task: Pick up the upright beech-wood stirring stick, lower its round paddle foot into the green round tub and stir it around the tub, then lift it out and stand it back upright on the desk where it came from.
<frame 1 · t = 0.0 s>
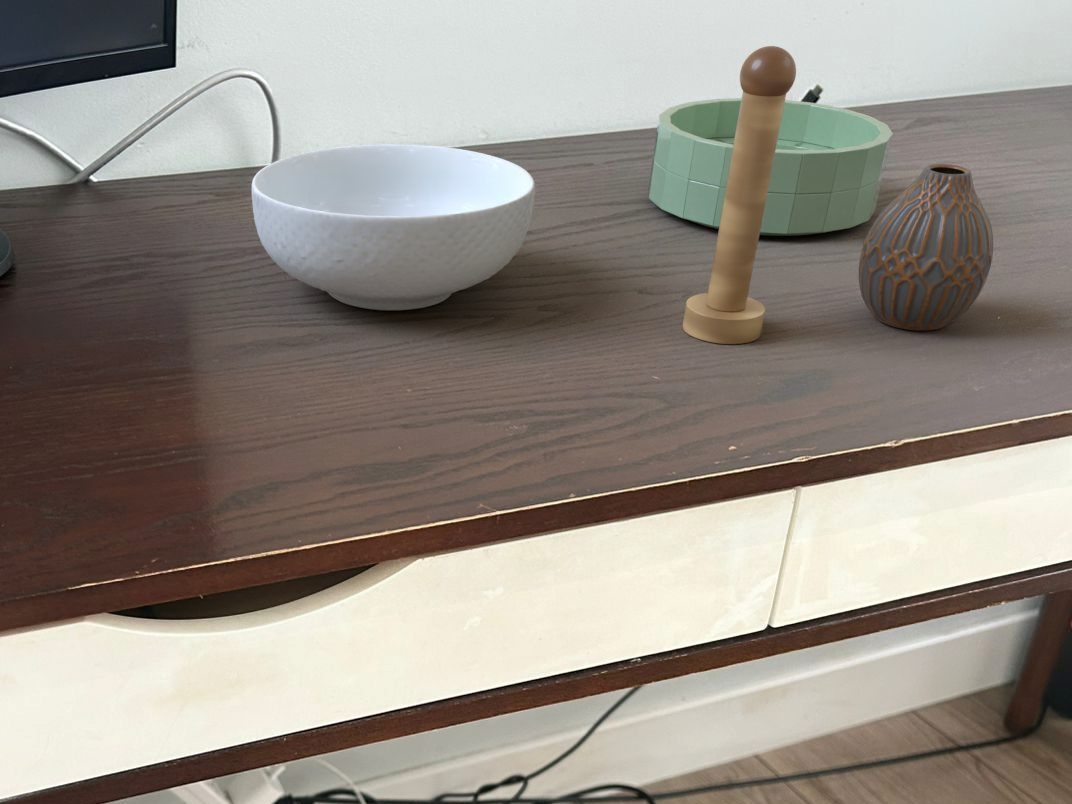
cereal bowl: (387, 291, 86), on the table
green round tub: (757, 208, 99), on the table
vase: (908, 322, 81), on the table
stirring stick: (721, 330, 80), on the table
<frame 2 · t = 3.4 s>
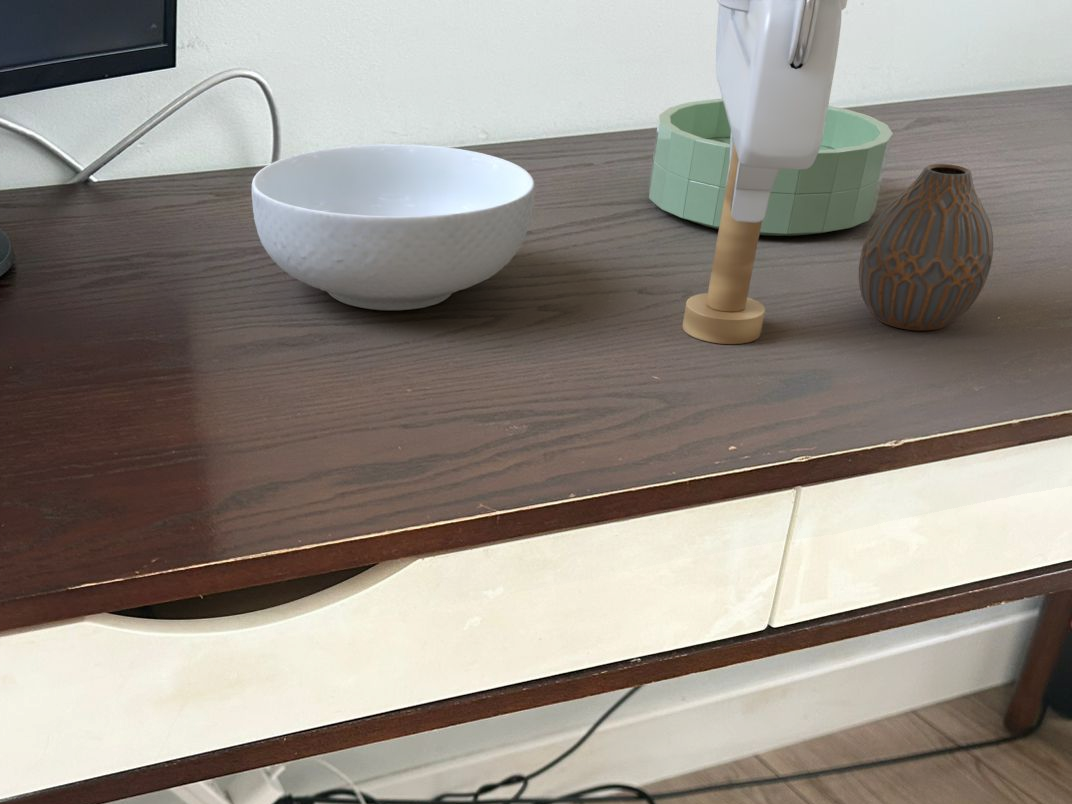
hand: (743, 208, 76), 7 cm above the table, tool pointing down, fingers closed on stirring stick, 2 cm apart
stirring stick: (721, 330, 80), on the table, touching gripper
everything else where it was.
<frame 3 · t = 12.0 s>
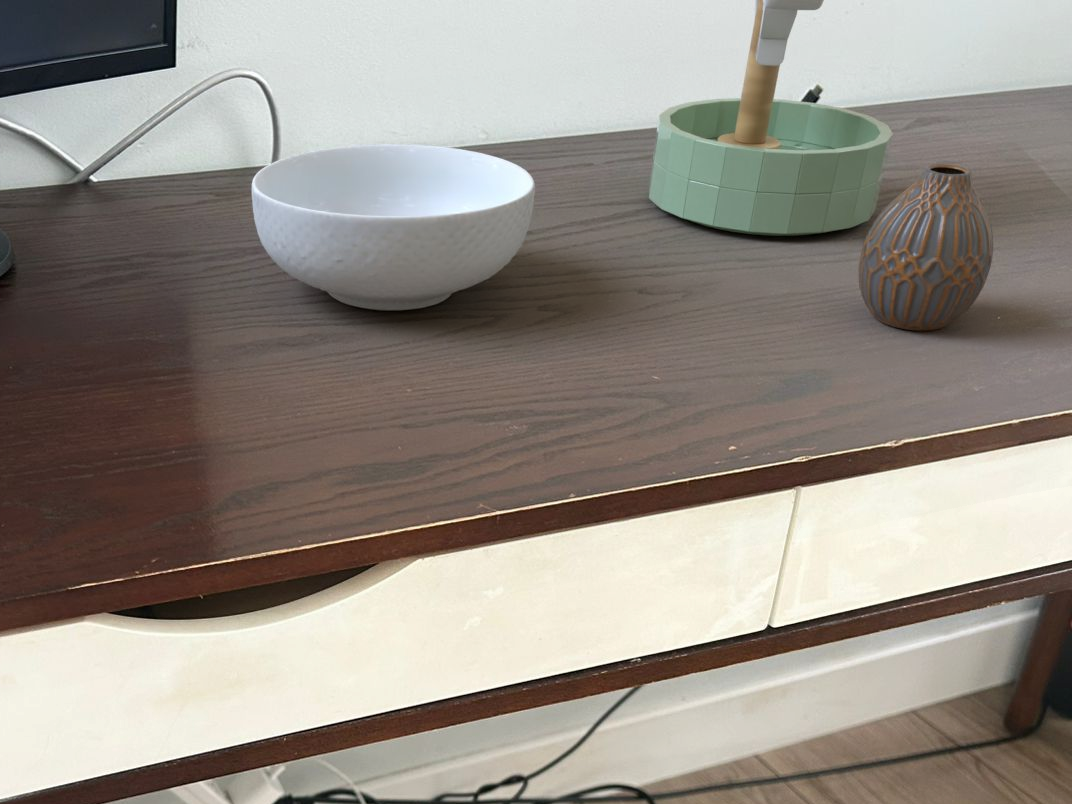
hand: (765, 58, 95), 10 cm above the table, tool pointing down, fingers closed on stirring stick, 2 cm apart
stirring stick: (745, 161, 99), point 3 cm above the table, touching gripper
everything else where it was.
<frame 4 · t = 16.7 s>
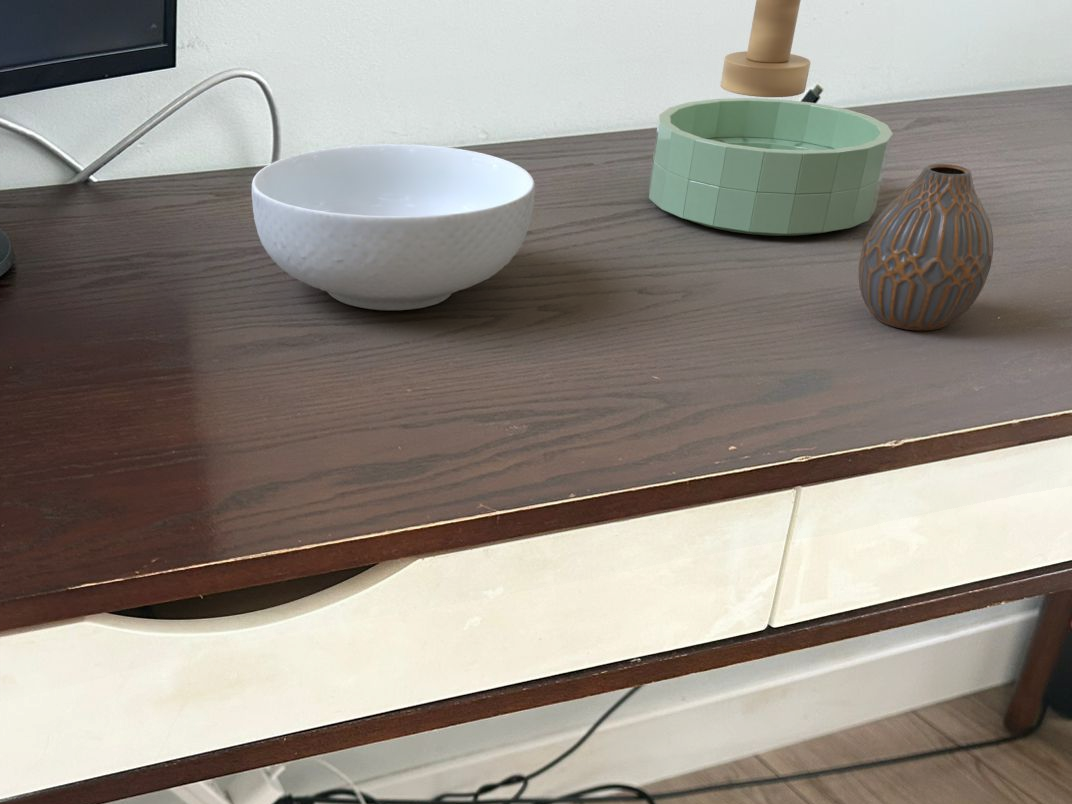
stirring stick: (762, 88, 74), point 13 cm above the table, touching gripper
everything else where it was.
when the fingers open (7 cm above the table, at t = 20.5 s): stirring stick stays where it is, on the table.
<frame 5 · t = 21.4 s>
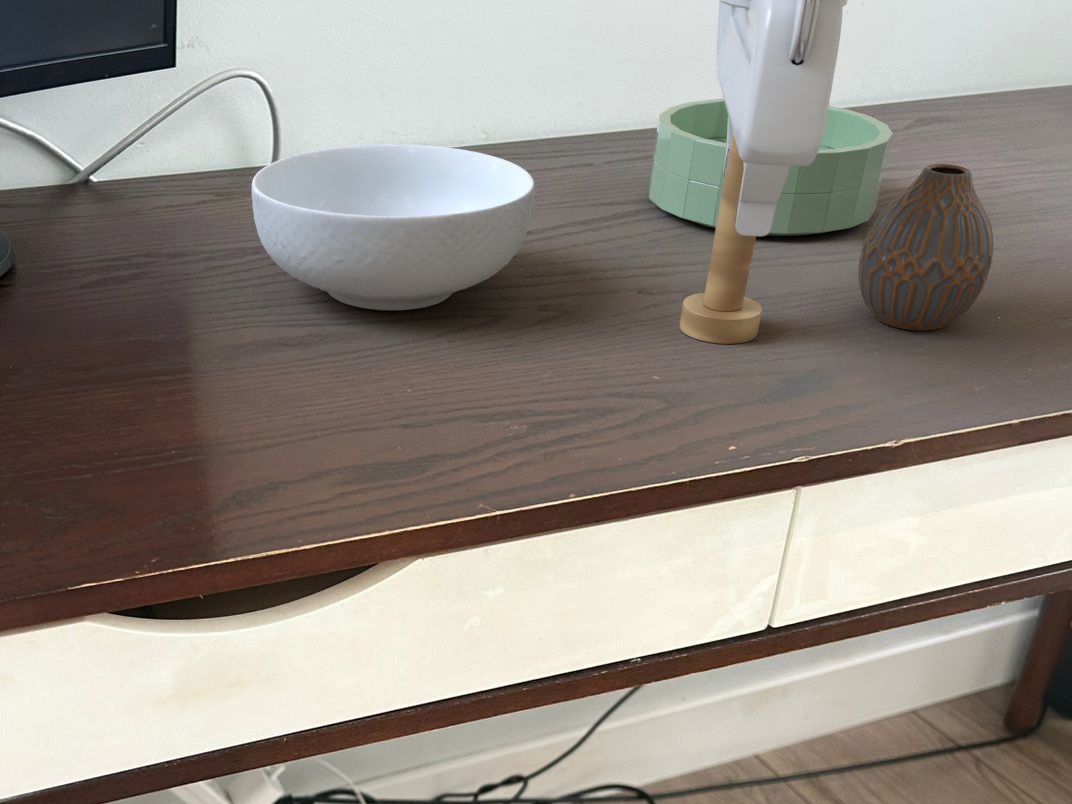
hand: (744, 205, 76), 7 cm above the table, tool pointing down, fingers open, 8 cm apart
stirring stick: (718, 329, 80), on the table
everything else where it was.
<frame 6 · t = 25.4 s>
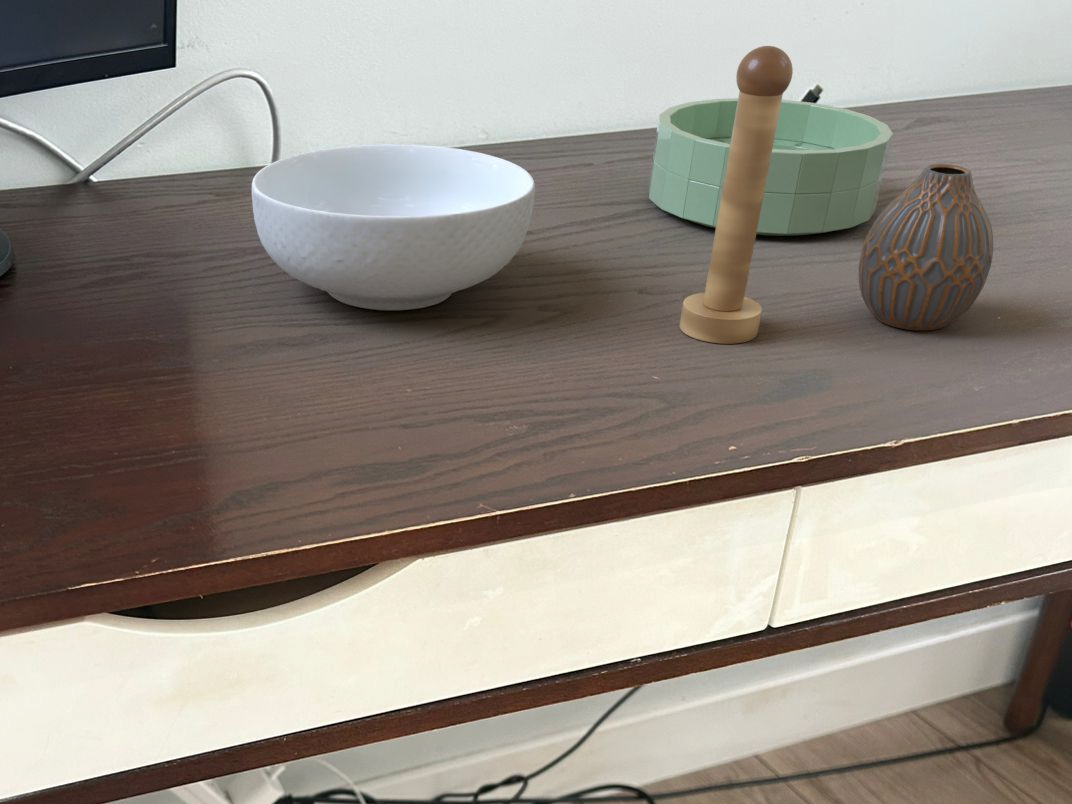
nothing on the table moved.
at the end: stirring stick inside the target area (0.2 cm from its centre), on the table; stirring stick tilted 0°; stirring stick touching table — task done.
